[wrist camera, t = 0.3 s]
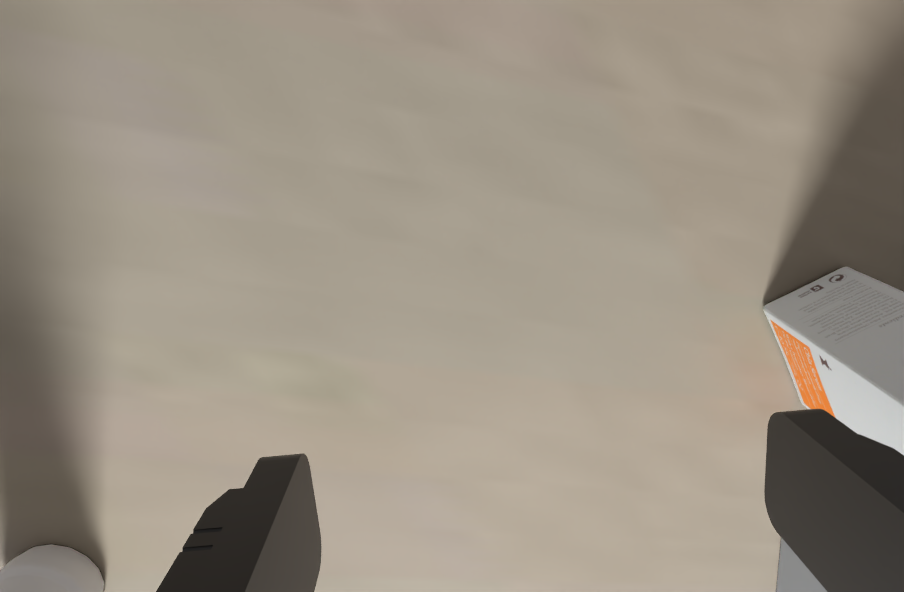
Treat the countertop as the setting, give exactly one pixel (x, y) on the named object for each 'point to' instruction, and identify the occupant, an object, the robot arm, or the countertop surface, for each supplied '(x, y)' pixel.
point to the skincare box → (846, 351)
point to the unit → (795, 573)
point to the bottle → (51, 571)
